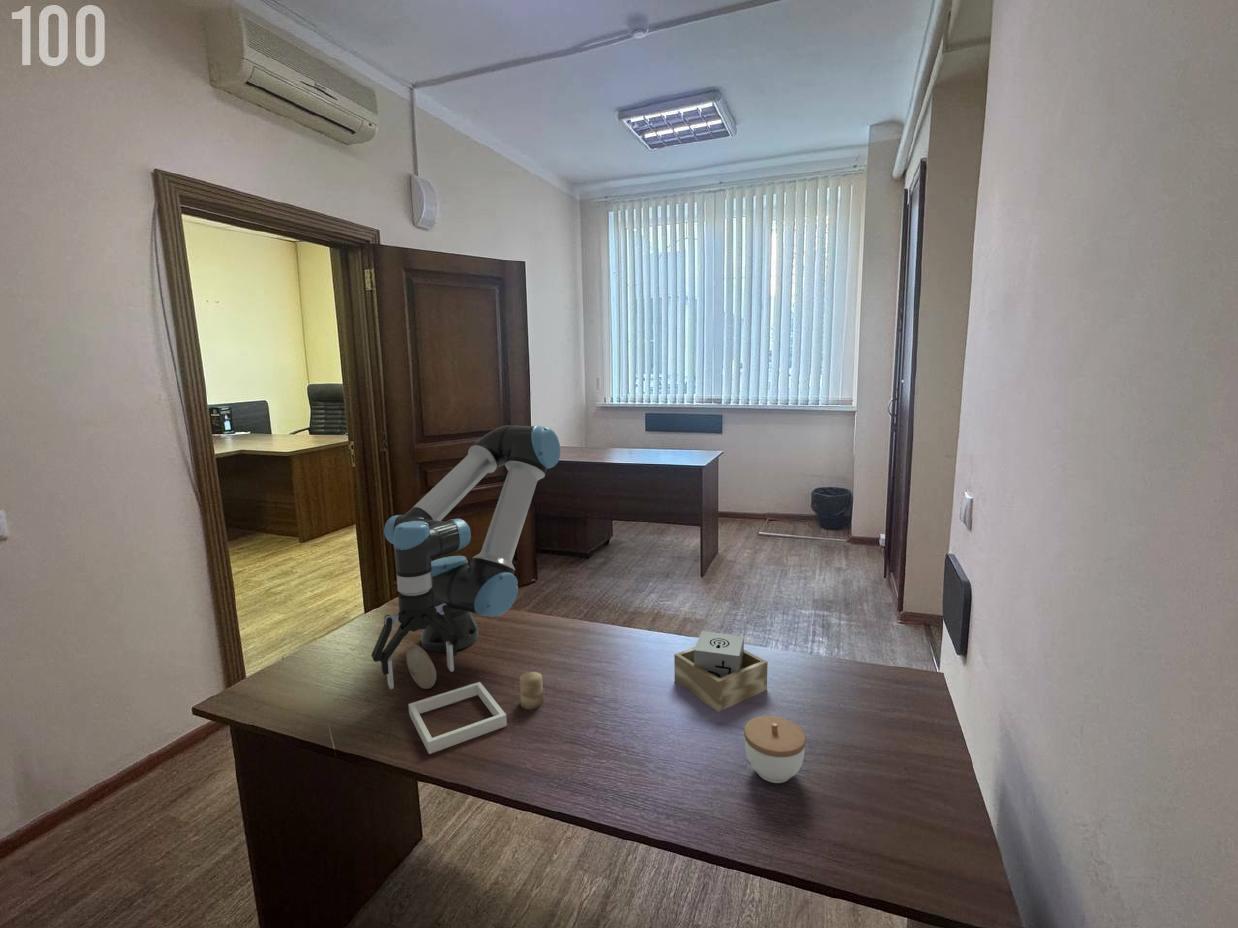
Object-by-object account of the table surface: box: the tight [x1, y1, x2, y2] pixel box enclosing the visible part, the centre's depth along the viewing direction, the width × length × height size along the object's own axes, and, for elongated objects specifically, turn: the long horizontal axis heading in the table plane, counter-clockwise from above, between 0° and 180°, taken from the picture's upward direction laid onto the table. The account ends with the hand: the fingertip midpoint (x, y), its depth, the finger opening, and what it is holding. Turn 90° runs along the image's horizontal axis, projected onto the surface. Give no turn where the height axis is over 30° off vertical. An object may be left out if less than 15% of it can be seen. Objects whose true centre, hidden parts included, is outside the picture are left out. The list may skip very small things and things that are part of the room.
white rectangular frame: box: [407, 681, 508, 755], centre depth 121 cm, size 16×16×2 cm
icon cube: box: [694, 630, 745, 678], centre depth 132 cm, size 10×10×10 cm
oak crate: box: [673, 647, 769, 713], centre depth 132 cm, size 15×15×7 cm
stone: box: [405, 644, 438, 690], centre depth 132 cm, size 6×6×12 cm
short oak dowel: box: [519, 671, 544, 710], centre depth 127 cm, size 5×5×6 cm
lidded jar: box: [743, 715, 807, 784], centre depth 103 cm, size 11×11×9 cm
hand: (421, 677), depth 133 cm, fingers open, 13 cm apart
